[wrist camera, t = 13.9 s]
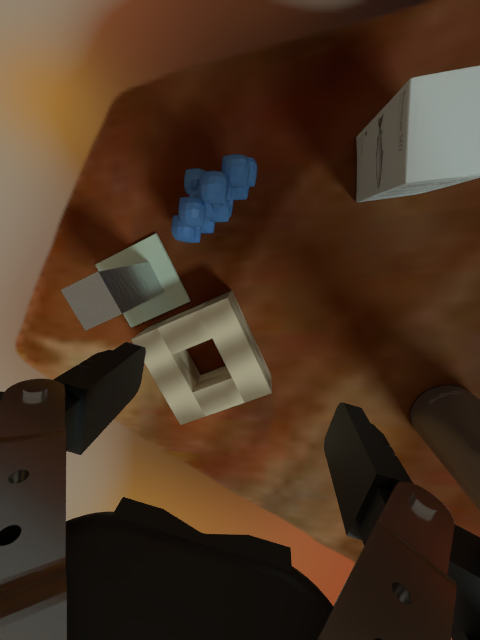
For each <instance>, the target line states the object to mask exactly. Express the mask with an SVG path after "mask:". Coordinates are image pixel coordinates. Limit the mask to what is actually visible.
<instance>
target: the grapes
mask: <svg viewBox="0 0 480 640" xmlns="http://www.w3.org/2000/svg"><path fill="white" fill-rule="evenodd" d="M256 176H257V163H256V161H255V160H254V158H250V157H246V156H244V155H240V154H232V155H227V156H223V161H222V167H221V171H220V172H218V171H207V172H206V171H205V170H203V169H199V168H193V169H188V170H186V172H185V179H184V188H185V191H186V193H187V194H188V195H189V197H183V198H180V202H179V211H178V215H175V216H173V219H172V230H171V232H172V235H173V237H174V238H175V239H177V240H178V241H184V242H187V243H197V242H200V237H201V233H213V232H214V227H215V222H228V220H229V217H231V214H232V208H233V201H234V200H242V199H247V196H248V191H249V187H251V186H255V181H256Z"/></svg>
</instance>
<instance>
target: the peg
mask: <svg viewBox="0 0 480 640" xmlns="http://www.w3.org/2000/svg"><path fill="white" fill-rule="evenodd" d="M61 291H62V293H63V295H64V296H65V298H66V300H67V301H68V303H69V305H70V306H71V308H72V309H73V311H74V313H75V314H76V316H77V318H78V319H79V321H80V323H81V324H82V326H83V327H84V329H85V330H88V329H90V328H92V327H94V326H96V325H99V324H101V323H103V322H105V321H107V320H110V319H112V318H114V317H116V316H118V315H121V314H123V313H125V312H127V311H129V310H130V309H132V308H134V307H136V306H138V305H140V304H142V303H144V302H146V301H148V300H150V299H151V298H153V297H155V296H157V295H159V294H161V293H163V292H164V290H163V288H162V286H161V284H160V282H159V280H158V278H157V276H156V274H155V272H154V270H153V268H152V267H151V265H150V263H149V262H145V263H140V264H135V265H130V266H125V267H119V268H114V269H109V270H104V271H99V272H96V273H94V274H92V275H90V276H88V277H86V278H84V279H82V280H80V281H78V282H76V283H74V284H72V285H70V286H68V287H66V288H64V289H62V290H61Z"/></svg>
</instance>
